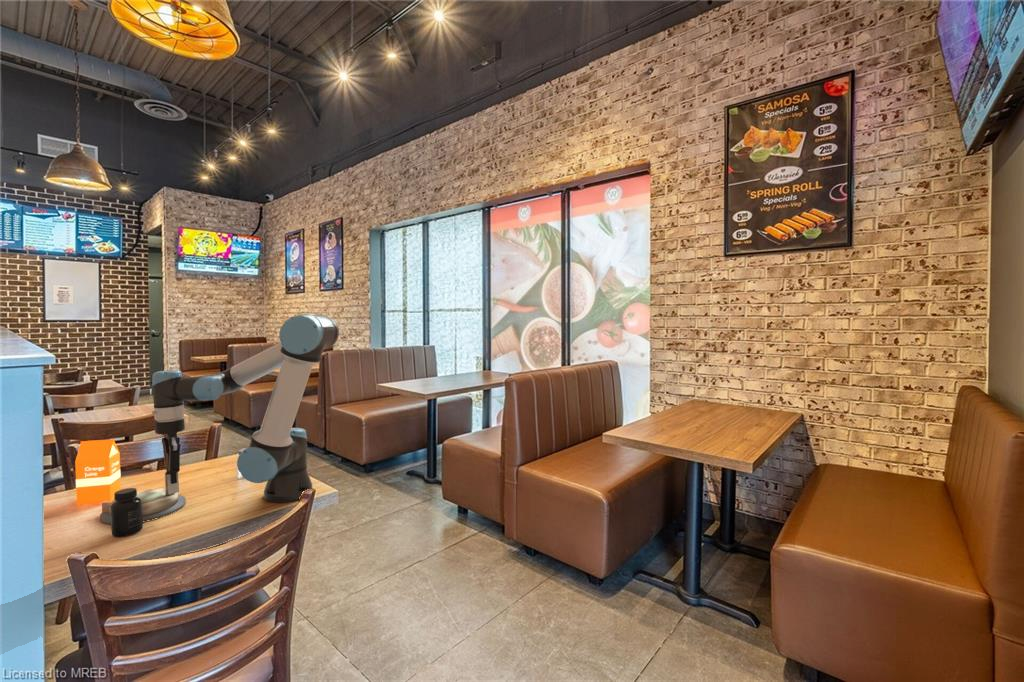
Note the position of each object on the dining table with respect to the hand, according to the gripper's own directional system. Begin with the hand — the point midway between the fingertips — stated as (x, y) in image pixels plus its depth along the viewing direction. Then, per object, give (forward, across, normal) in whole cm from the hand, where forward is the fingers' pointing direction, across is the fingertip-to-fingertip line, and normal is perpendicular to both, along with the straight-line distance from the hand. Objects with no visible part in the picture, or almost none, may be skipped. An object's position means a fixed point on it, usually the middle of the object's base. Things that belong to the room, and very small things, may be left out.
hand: (173, 492), depth 143 cm
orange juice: (+4, -26, -15) cm, 31 cm away
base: (+5, -5, -7) cm, 10 cm away
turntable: (+4, -5, -7) cm, 9 cm away
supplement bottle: (+5, +9, -13) cm, 17 cm away
